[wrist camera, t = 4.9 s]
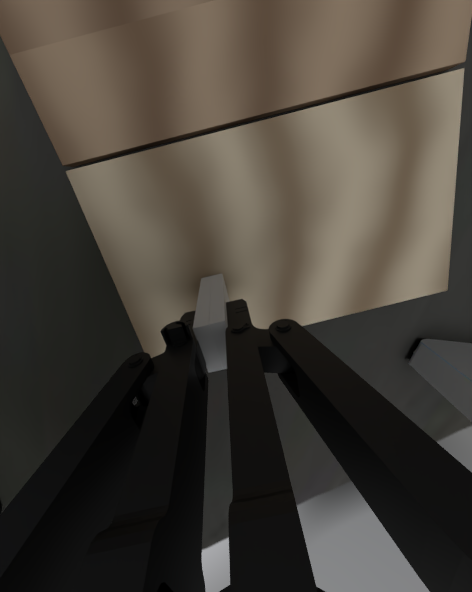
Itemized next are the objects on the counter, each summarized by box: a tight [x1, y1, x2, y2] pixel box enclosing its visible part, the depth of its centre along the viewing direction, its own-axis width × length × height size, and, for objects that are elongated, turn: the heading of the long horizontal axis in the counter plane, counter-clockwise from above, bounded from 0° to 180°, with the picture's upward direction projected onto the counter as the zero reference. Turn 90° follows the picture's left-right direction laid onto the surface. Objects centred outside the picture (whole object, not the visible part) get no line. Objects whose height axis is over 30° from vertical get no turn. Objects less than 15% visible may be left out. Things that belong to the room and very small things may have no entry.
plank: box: [66, 68, 464, 358], centre depth 17 cm, size 24×14×1 cm, turn 103°
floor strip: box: [0, 0, 472, 167], centre depth 13 cm, size 24×10×1 cm, turn 103°
